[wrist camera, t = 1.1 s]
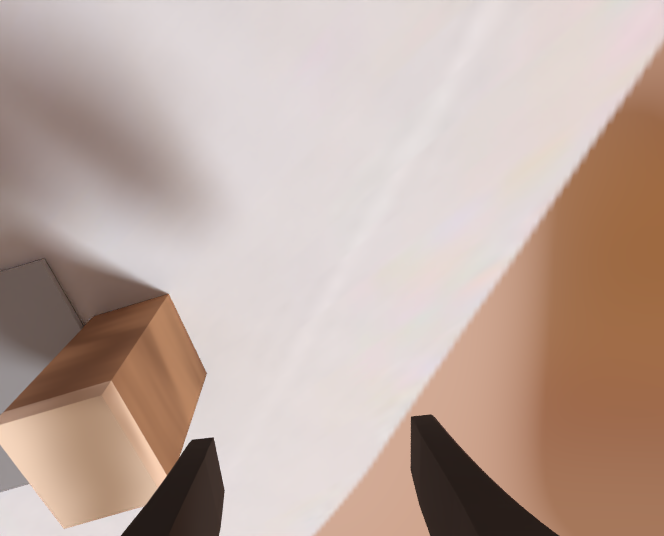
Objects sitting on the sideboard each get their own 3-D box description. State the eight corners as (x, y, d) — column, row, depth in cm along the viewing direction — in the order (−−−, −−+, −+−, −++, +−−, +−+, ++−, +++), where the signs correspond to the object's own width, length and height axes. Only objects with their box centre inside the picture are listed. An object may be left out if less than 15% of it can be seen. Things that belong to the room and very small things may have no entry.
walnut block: (137, 393, 23) (64, 528, 16) (93, 316, 22) (-13, 428, 14) (206, 373, 23) (165, 500, 16) (168, 293, 22) (101, 395, 14)
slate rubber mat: (-31, 497, 25) (-35, 501, 25) (-176, 325, 21) (-183, 328, 20) (152, 445, 25) (150, 449, 24) (44, 258, 20) (40, 260, 20)
